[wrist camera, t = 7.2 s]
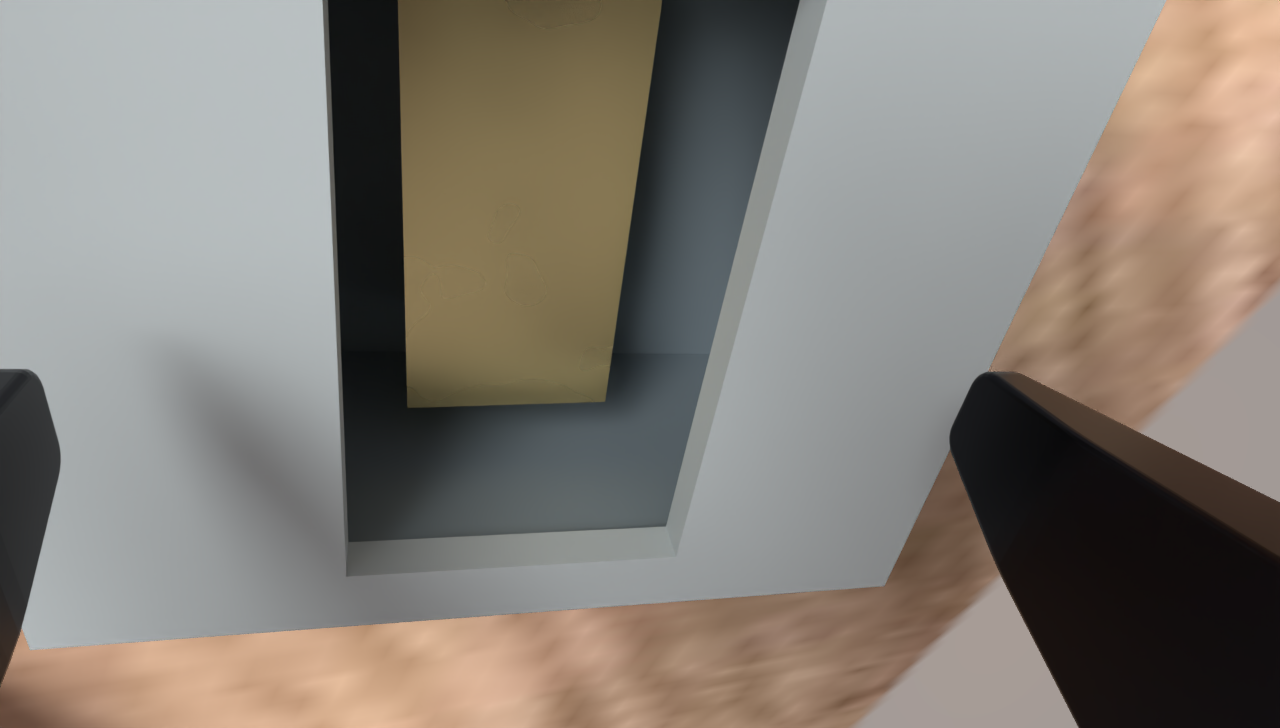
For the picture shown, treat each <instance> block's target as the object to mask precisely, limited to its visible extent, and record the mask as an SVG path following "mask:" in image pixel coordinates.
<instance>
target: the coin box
mask: <svg viewBox="0 0 1280 728" xmlns="http://www.w3.org/2000/svg"><path fill="white" fill-rule="evenodd" d="M1165 2H1166V0H662V6H661V13H660V20H659V27H658V34H657V41H656V48H655V55H654V62H653V69H652V76H651V83H650V90H649V97H648V104H647V111H646V118H645V125H644V132H643V139H642V146H641V153H640V160H639V167H638V174H637V181H636V188H635V195H634V202H633V209H632V216H631V223H630V230H629V237H628V244H627V251H626V258H625V265H624V272H623V279H622V286H621V293H620V300H619V307H618V314H617V321H616V329H615V336H614V343H613V350H612V357H611V364H610V371H609V378H608V385H607V392H606V399H605V402H583V403H551V404H519V405H487V406H455V407H423V408H407V371H406V327H405V284H404V241H403V197H402V154H401V111H400V68H399V24H398V0H0V369H29V370H31V371H32V372H34V373H35V374H37V376H38V377H39V379H40V380H41V382H42V385H43V387H44V391H45V395H46V398H47V402H48V405H49V409H50V412H51V416H52V420H53V423H54V427H55V430H56V434H57V437H58V441H59V445H60V452H61V466H60V473H59V478H58V482H57V486H56V491H55V495H54V499H53V503H52V507H51V511H50V515H49V519H48V523H47V528H46V532H45V536H44V540H43V544H42V548H41V552H40V556H39V560H38V565H37V569H36V573H35V577H34V581H33V585H32V589H31V593H30V597H29V602H28V606H27V610H26V613H25V617H24V621H23V624H22V629H23V632H24V635H25V638H26V640H27V643H28V646H29V648H30V650H38V649H51V648H65V647H78V646H92V645H105V644H118V643H132V642H145V641H158V640H172V639H185V638H198V637H212V636H225V635H239V634H252V633H265V632H279V631H292V630H305V629H319V628H332V627H345V626H359V625H372V624H386V623H399V622H412V621H426V620H439V619H452V618H466V617H479V616H492V615H506V614H519V613H533V612H546V611H559V610H573V609H586V608H599V607H613V606H626V605H639V604H653V603H666V602H680V601H693V600H706V599H720V598H733V597H746V596H760V595H773V594H786V593H800V592H813V591H827V590H840V589H853V588H867V587H880V586H885V584H886V581H887V579H888V577H889V575H890V573H891V571H892V569H893V567H894V565H895V563H896V561H897V559H898V557H899V554H900V552H901V550H902V548H903V546H904V544H905V542H906V540H907V538H908V536H909V534H910V532H911V530H912V527H913V525H914V523H915V521H916V519H917V517H918V515H919V513H920V511H921V509H922V507H923V505H924V503H925V500H926V498H927V496H928V494H929V492H930V490H931V488H932V486H933V484H934V482H935V480H936V478H937V476H938V473H939V471H940V469H941V467H942V465H943V463H944V461H945V459H946V457H947V455H948V453H949V451H950V445H949V435H950V430H951V427H952V425H953V422H954V420H955V418H956V416H957V414H958V412H959V410H960V408H961V406H962V403H963V401H964V399H965V397H966V395H967V393H968V391H969V389H970V387H971V384H972V383H973V381H974V380H975V379H976V378H977V377H978V376H979V375H980V374H982V373H985V372H988V370H989V368H990V365H991V363H992V361H993V359H994V357H995V355H996V353H997V351H998V349H999V347H1000V345H1001V343H1002V341H1003V338H1004V336H1005V334H1006V332H1007V330H1008V328H1009V326H1010V324H1011V322H1012V320H1013V318H1014V316H1015V314H1016V311H1017V309H1018V307H1019V305H1020V303H1021V301H1022V299H1023V297H1024V295H1025V293H1026V291H1027V289H1028V287H1029V284H1030V282H1031V280H1032V278H1033V276H1034V274H1035V272H1036V270H1037V268H1038V266H1039V264H1040V262H1041V260H1042V257H1043V255H1044V253H1045V251H1046V249H1047V247H1048V245H1049V243H1050V241H1051V239H1052V237H1053V235H1054V233H1055V231H1056V228H1057V226H1058V224H1059V222H1060V220H1061V218H1062V216H1063V214H1064V212H1065V210H1066V208H1067V206H1068V204H1069V201H1070V199H1071V197H1072V195H1073V193H1074V191H1075V189H1076V187H1077V185H1078V183H1079V181H1080V179H1081V177H1082V174H1083V172H1084V170H1085V168H1086V166H1087V164H1088V162H1089V160H1090V158H1091V156H1092V154H1093V152H1094V150H1095V147H1096V145H1097V143H1098V141H1099V139H1100V137H1101V135H1102V133H1103V131H1104V129H1105V127H1106V125H1107V123H1108V120H1109V118H1110V116H1111V114H1112V112H1113V110H1114V108H1115V106H1116V104H1117V102H1118V100H1119V98H1120V96H1121V93H1122V91H1123V89H1124V87H1125V85H1126V83H1127V81H1128V79H1129V77H1130V75H1131V73H1132V71H1133V69H1134V66H1135V64H1136V62H1137V60H1138V58H1139V56H1140V54H1141V52H1142V50H1143V48H1144V46H1145V44H1146V42H1147V39H1148V37H1149V35H1150V33H1151V31H1152V29H1153V27H1154V25H1155V23H1156V21H1157V19H1158V17H1159V15H1160V12H1161V10H1162V8H1163V6H1164V4H1165Z"/></svg>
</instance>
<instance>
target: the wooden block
mask: <svg viewBox="0 0 1280 728" xmlns="http://www.w3.org/2000/svg"><path fill="white" fill-rule="evenodd" d="M661 6H662V0H398V24H399V68H400V111H401V154H402V197H403V241H404V284H405V327H406V371H407V408H423V407H455V406H487V405H519V404H551V403H583V402H605V399H606V392H607V385H608V378H609V371H610V364H611V357H612V350H613V343H614V336H615V329H616V321H617V314H618V307H619V300H620V293H621V286H622V279H623V272H624V265H625V258H626V251H627V244H628V237H629V230H630V223H631V216H632V209H633V202H634V195H635V188H636V181H637V174H638V167H639V160H640V153H641V146H642V139H643V132H644V125H645V118H646V111H647V104H648V97H649V90H650V83H651V76H652V69H653V62H654V55H655V48H656V41H657V34H658V27H659V20H660V13H661Z"/></svg>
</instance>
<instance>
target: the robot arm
mask: <svg viewBox="0 0 1280 728" xmlns="http://www.w3.org/2000/svg"><path fill="white" fill-rule="evenodd" d="M949 445H950V450H951V453H952V456H953V458H954V461H955V463H956V466H957V469H958V471H959V474H960V476H961V479H962V481H963V484H964V486H965V489H966V491H967V494H968V496H969V499H970V501H971V504H972V507H973V509H974V512H975V514H976V517H977V519H978V522H979V524H980V527H981V529H982V532H983V534H984V537H985V540H986V542H987V545H988V547H989V550H990V552H991V554H992V557H993V559H994V561H995V564H996V566H997V568H998V570H999V572H1000V575H1001V577H1002V579H1003V581H1004V583H1005V585H1006V587H1007V589H1008V591H1009V593H1010V595H1011V597H1012V599H1013V601H1014V603H1015V605H1016V606H1017V608H1018V610H1019V612H1020V614H1021V616H1022V618H1023V620H1024V622H1025V624H1026V626H1027V627H1028V629H1029V632H1030V634H1031V636H1032V638H1033V639H1034V641H1035V643H1036V645H1037V647H1038V649H1039V651H1040V653H1041V655H1042V657H1043V659H1044V661H1045V663H1046V665H1047V667H1048V668H1049V671H1050V673H1051V675H1052V677H1053V679H1054V680H1055V682H1056V684H1057V686H1058V688H1059V690H1060V692H1061V694H1062V696H1063V698H1064V700H1065V702H1066V704H1067V706H1068V708H1069V710H1070V712H1071V714H1072V716H1073V718H1074V719H1075V721H1076V723H1077V725H1078V727H1079V728H1280V502H1278V501H1276V500H1274V499H1272V498H1270V497H1268V496H1266V495H1264V494H1262V493H1260V492H1258V491H1256V490H1254V489H1252V488H1250V487H1248V486H1246V485H1244V484H1242V483H1240V482H1238V481H1236V480H1234V479H1231V478H1230V477H1228V476H1226V475H1223V474H1222V473H1220V472H1217V471H1215V470H1214V469H1212V468H1210V467H1207V466H1206V465H1204V464H1202V463H1200V462H1197V461H1195V460H1193V459H1191V458H1189V457H1187V456H1185V455H1183V454H1181V453H1179V452H1177V451H1175V450H1173V449H1171V448H1169V447H1167V446H1165V445H1163V444H1161V443H1159V442H1157V441H1155V440H1153V439H1151V438H1149V437H1147V436H1145V435H1143V434H1141V433H1139V432H1137V431H1135V430H1133V429H1131V428H1129V427H1127V426H1125V425H1123V424H1121V423H1119V422H1117V421H1115V420H1113V419H1111V418H1109V417H1107V416H1105V415H1103V414H1101V413H1099V412H1097V411H1095V410H1093V409H1091V408H1089V407H1087V406H1085V405H1083V404H1081V403H1079V402H1077V401H1075V400H1073V399H1071V398H1069V397H1067V396H1065V395H1063V394H1061V393H1059V392H1057V391H1055V390H1053V389H1051V388H1049V387H1047V386H1045V385H1043V384H1041V383H1039V382H1036V381H1034V380H1032V379H1030V378H1028V377H1026V376H1024V375H1022V374H1020V373H1016V372H985V373H982V374H980V375H979V376H978V377H977V378H976V379H975V380H974V381H973V383H972V384H971V387H970V389H969V391H968V393H967V395H966V397H965V399H964V401H963V403H962V406H961V408H960V410H959V412H958V414H957V416H956V418H955V420H954V422H953V425H952V427H951V430H950V435H949ZM60 466H61V452H60V445H59V441H58V437H57V434H56V430H55V427H54V423H53V420H52V416H51V412H50V409H49V405H48V402H47V398H46V395H45V391H44V387H43V385H42V382H41V380H40V379H39V377H38V376H37V374H35V373H34V372H32V371H31V370H29V369H0V687H1V684H2V682H3V679H4V676H5V674H6V671H7V669H8V666H9V664H10V661H11V658H12V655H13V652H14V649H15V647H16V644H17V641H18V638H19V635H20V632H21V628H22V624H23V621H24V617H25V613H26V610H27V606H28V602H29V597H30V593H31V589H32V585H33V581H34V577H35V573H36V569H37V565H38V560H39V556H40V552H41V548H42V544H43V540H44V536H45V532H46V528H47V523H48V519H49V515H50V511H51V507H52V503H53V499H54V495H55V491H56V486H57V482H58V478H59V473H60Z"/></svg>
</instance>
